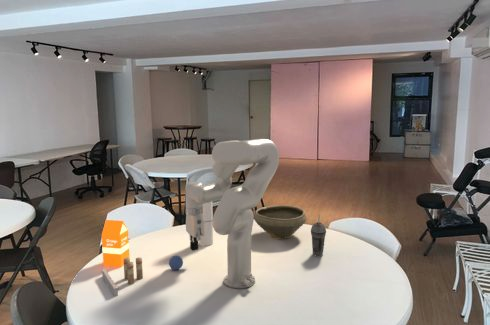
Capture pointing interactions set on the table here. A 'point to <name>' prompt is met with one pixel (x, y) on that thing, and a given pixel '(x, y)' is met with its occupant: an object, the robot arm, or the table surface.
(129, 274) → the pin
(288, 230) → the bowl
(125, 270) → the pin
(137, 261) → the pin front
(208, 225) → the cylindrical container
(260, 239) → the table surface
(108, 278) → the rail
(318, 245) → the beverage cup
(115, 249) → the orange juice
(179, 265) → the ball
